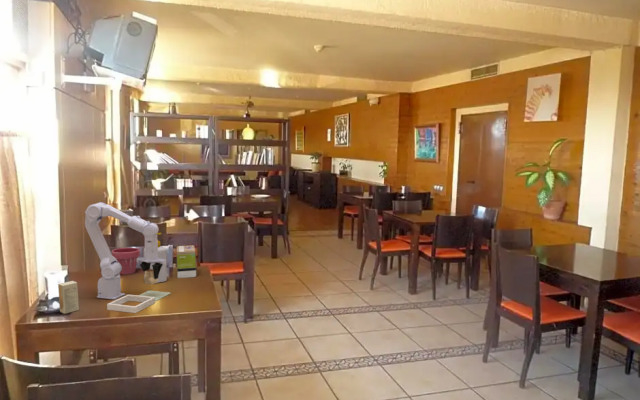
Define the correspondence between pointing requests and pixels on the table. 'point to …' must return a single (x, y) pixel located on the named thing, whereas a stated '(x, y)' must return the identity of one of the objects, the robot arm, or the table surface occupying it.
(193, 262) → the tea box
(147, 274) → the birch block
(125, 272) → the plant pot
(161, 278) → the soap bottle
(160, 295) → the sage tile
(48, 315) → the table surface
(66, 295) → the skincare box
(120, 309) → the white bin
